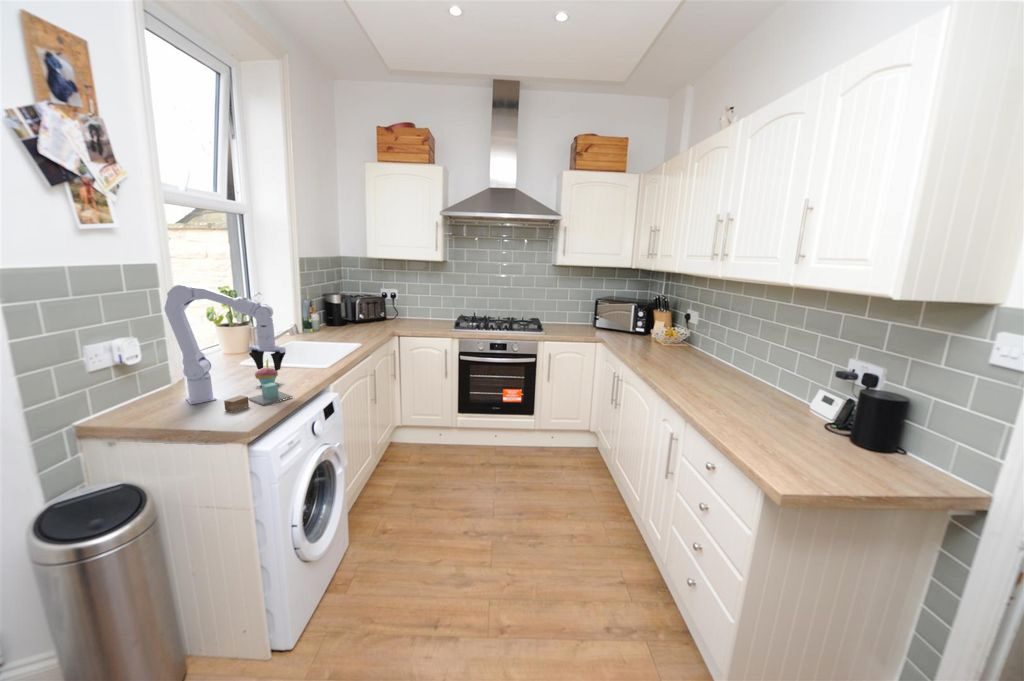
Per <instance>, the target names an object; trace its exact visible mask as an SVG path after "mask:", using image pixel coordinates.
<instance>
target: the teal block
mask: <svg viewBox="0 0 1024 681" xmlns="http://www.w3.org/2000/svg"><path fill="white" fill-rule="evenodd" d="M278 391H279V386H278V384H277V383H275V382H274V383H268V384H264V385H261V392H262V393H261V395H263V398H266V399H272V398H276V397H279V395H278Z"/></svg>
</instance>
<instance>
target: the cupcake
mask: <svg viewBox="0 0 1024 681" xmlns="http://www.w3.org/2000/svg"><path fill="white" fill-rule="evenodd" d="M265 363H266V364H265V365H266V367H265V368H264V367H263V368H262V369H258V371H256V372H255V373H254V377H255V378H256V379H257V380H258V381H259V382H260V385H261V386H262V385H264V384H268V383H275V381H276V379H277V377H278V375H279V373H278V370H277V371H275V368H273V367H271V368H269V358H266V362H265Z"/></svg>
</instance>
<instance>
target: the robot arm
mask: <svg viewBox="0 0 1024 681" xmlns="http://www.w3.org/2000/svg"><path fill="white" fill-rule="evenodd" d="M198 300H209V301H213V302H216V303H218V304H222V305H225V306H229V307H231V309H232V310H233V311H234V312H237V313H239V314H243V315H246V316H248V317H254V319H255V323H256V337H257V338H256V339H257V344H256V345H254V344H252V345H248V351H249V356H250V357H251V358H252V360H253V361H254V363H255V365H256V369H257V370H261V369H264V353H265V352H266V353H267V352H268V353H271V354H270V356H271V358H272V361H273V367H274V368H273V369H275V371H277V372H278V371H279V370H281V367H282V362H283V359H284V357H285V355H286V347H285V346H279V345H276V341H275V340H276V339H275V329H274V328H275V326H274V322H273V321H274V320H273V315H274V309H273V307H271V306H270V305H268V304H267V303H266V304H265V303H264V304H262V303H261V302H259V301H257V302H256V301H253V300H250V299H248V297H246V296H243V297H242V296H238V297H231V296H229V295H227V294H224V293H221V292H218V291H217V290H213V289H212V288H211V289H210V288H208V287H205V286H202V285H196V284H194V283H190V282H189V283H184V284H177V285H174V286H173V287H171V289H170V290H168V292H167V298H166V301H165V305H164V313H165V315H166V317H167V320H168V322H169V325H170V327H171V330H172V331H173V334H174V336H175V338H176V339H175V340H176V341H177V344H178V346H179V349H180V352H181V354H182V356H183V357H182V365H183V371H182V373H183V375H184V377H185V378H186V384H187V392H188V396H186V397H185V400H187V402H188V403H189V405H195V404H201V403H207V402H212V401H216V400H217V397H216V396H215V395H214V393H213V384H212V383H213V382H212V375H211V374H210V373H209V372H210V371H211V369H212V363H211V361H210V360H209V359H208V358H206V356H205V354H204V352H202V351H201V350H200V347H199V345H198V342H197V340H196V337H195V335H194V333H193V330H192V327H191V325H190V322H189V320H188V317H187V315H186V312H185V311H186V310H187V308H188V306H189V305H190V304H191V303H192V302H194V301H198Z"/></svg>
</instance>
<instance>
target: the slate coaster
mask: <svg viewBox="0 0 1024 681" xmlns="http://www.w3.org/2000/svg"><path fill="white" fill-rule="evenodd" d="M278 395H279V397H276V398H272V399H266V398H263V395H262V394H259V395H255V396H252V397H251V396H250V397H248V401H250V400H251V401H250V402H253V401H254V402H253V403H255V402H256V403H255V404H257V403H258V405H260V404H261V405H260V406H262V405H265V406H268V405H267V404H269V405H272V404H275V403H274V402H276V403H278V402H277V401H280V400H283V399H286V398H290V397H293V395H291V394H289V393H284V392H282V391H279V390H278ZM280 402H281V401H280ZM271 403H272V404H271Z"/></svg>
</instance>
